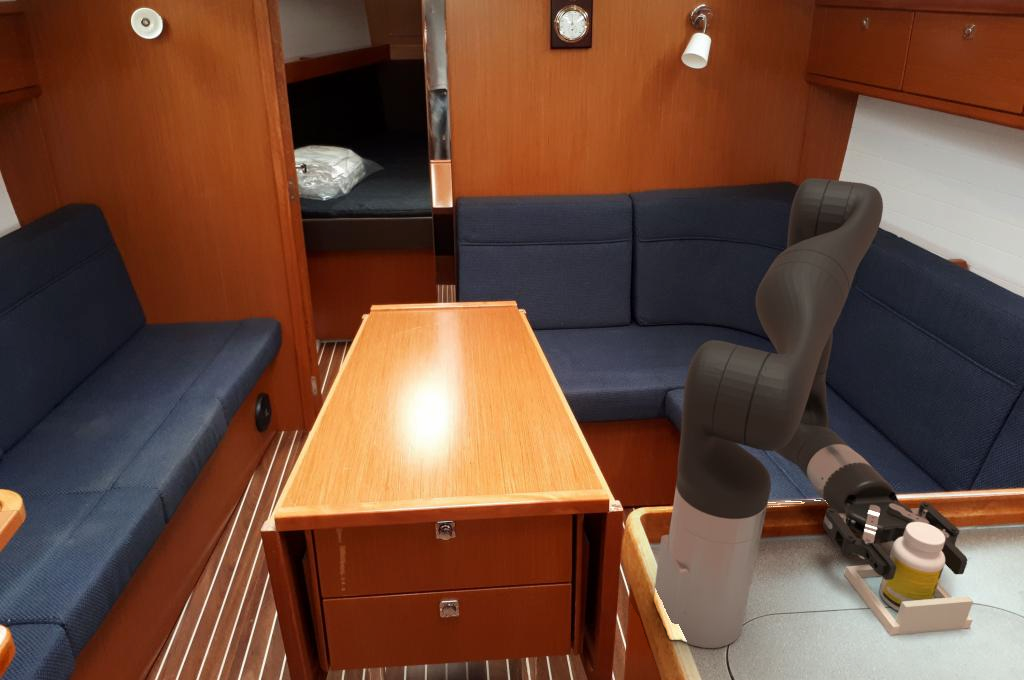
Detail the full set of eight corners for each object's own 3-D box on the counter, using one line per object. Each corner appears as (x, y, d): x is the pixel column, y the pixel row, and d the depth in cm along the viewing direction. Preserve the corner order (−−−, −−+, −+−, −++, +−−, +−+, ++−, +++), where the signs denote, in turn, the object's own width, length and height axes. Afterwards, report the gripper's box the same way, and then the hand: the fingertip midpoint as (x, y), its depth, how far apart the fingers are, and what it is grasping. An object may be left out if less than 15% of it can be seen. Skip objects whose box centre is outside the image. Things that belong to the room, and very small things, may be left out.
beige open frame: (890, 635, 82) (899, 607, 80) (844, 574, 90) (851, 548, 89) (969, 627, 83) (979, 600, 81) (916, 568, 92) (924, 542, 90)
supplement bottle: (935, 620, 84) (959, 552, 80) (884, 612, 85) (905, 544, 81) (921, 587, 89) (943, 521, 85) (873, 579, 90) (893, 514, 85)
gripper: (803, 464, 94) (876, 549, 80) (906, 458, 96) (995, 540, 82) (792, 511, 98) (860, 601, 83) (892, 505, 99) (976, 592, 85)
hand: (927, 571), depth 82 cm, fingers open, 8 cm apart
